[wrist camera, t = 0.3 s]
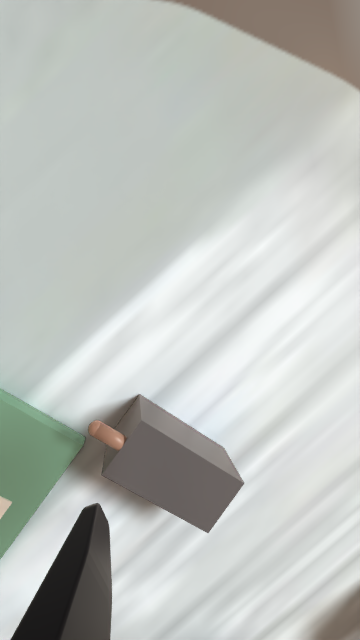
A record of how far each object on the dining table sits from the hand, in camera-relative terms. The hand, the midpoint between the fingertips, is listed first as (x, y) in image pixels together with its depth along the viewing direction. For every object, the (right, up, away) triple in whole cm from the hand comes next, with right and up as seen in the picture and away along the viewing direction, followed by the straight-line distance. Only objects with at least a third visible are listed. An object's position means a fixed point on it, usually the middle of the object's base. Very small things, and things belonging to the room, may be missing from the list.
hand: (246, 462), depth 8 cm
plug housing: (-4, -5, +15) cm, 16 cm away
